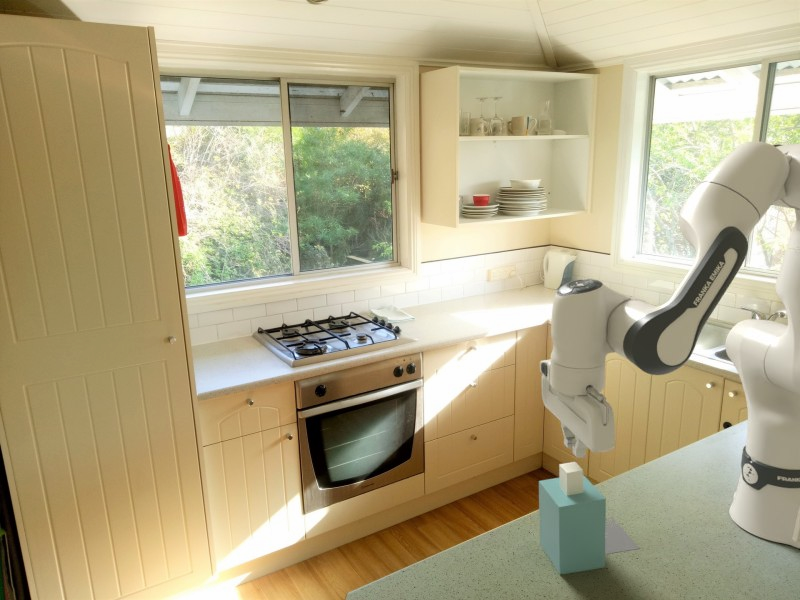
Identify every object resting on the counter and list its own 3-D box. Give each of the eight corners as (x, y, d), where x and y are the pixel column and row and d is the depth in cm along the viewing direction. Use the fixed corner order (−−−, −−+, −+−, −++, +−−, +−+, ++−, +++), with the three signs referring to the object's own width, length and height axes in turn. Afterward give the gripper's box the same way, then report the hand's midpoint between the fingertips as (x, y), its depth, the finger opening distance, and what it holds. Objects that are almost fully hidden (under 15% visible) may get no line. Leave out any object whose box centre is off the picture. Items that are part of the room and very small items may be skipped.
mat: (612, 518, 119) (612, 517, 119) (640, 549, 110) (640, 548, 110) (565, 525, 118) (565, 524, 118) (589, 558, 108) (589, 556, 108)
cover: (582, 537, 113) (582, 452, 109) (605, 567, 105) (606, 475, 101) (540, 545, 112) (538, 459, 108) (559, 576, 104) (558, 483, 99)
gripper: (627, 397, 91) (623, 479, 94) (567, 355, 111) (565, 424, 114) (589, 402, 90) (586, 484, 93) (535, 359, 110) (534, 428, 113)
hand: (574, 451), depth 104 cm, fingers closed
